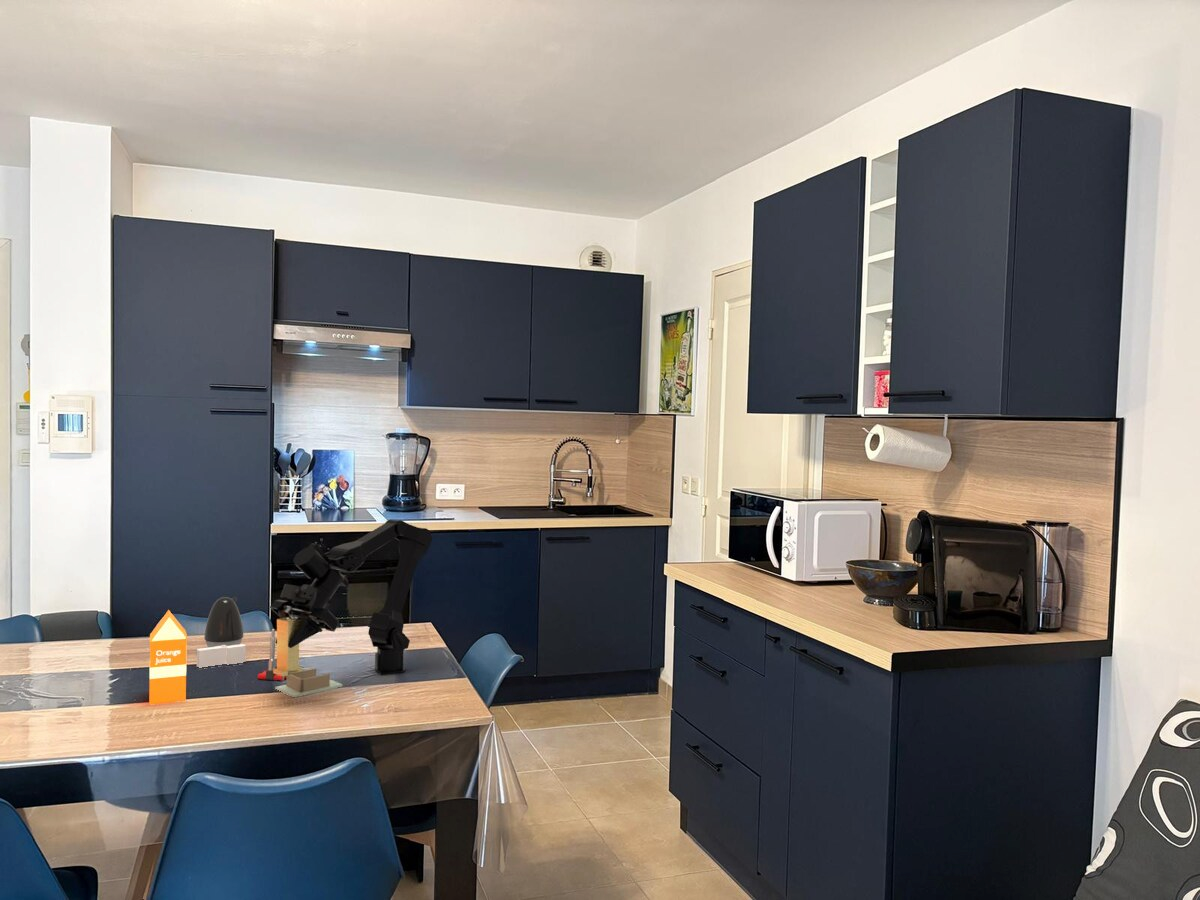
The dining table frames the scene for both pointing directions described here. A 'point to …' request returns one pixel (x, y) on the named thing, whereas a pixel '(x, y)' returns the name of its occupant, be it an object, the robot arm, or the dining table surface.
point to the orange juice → (167, 661)
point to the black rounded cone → (224, 624)
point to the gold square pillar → (286, 655)
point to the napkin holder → (221, 655)
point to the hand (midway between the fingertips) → (283, 645)
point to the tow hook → (271, 663)
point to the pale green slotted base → (307, 683)
